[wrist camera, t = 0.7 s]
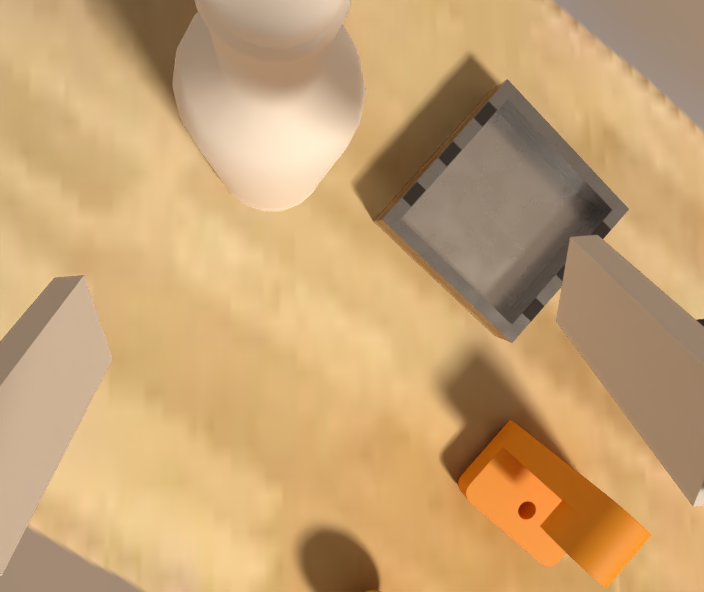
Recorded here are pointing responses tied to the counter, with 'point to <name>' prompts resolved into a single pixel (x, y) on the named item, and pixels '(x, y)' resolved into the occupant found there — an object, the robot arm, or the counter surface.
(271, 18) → the bottle
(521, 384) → the counter surface
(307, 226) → the counter surface
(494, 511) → the bracket
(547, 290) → the open square box
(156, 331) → the counter surface
